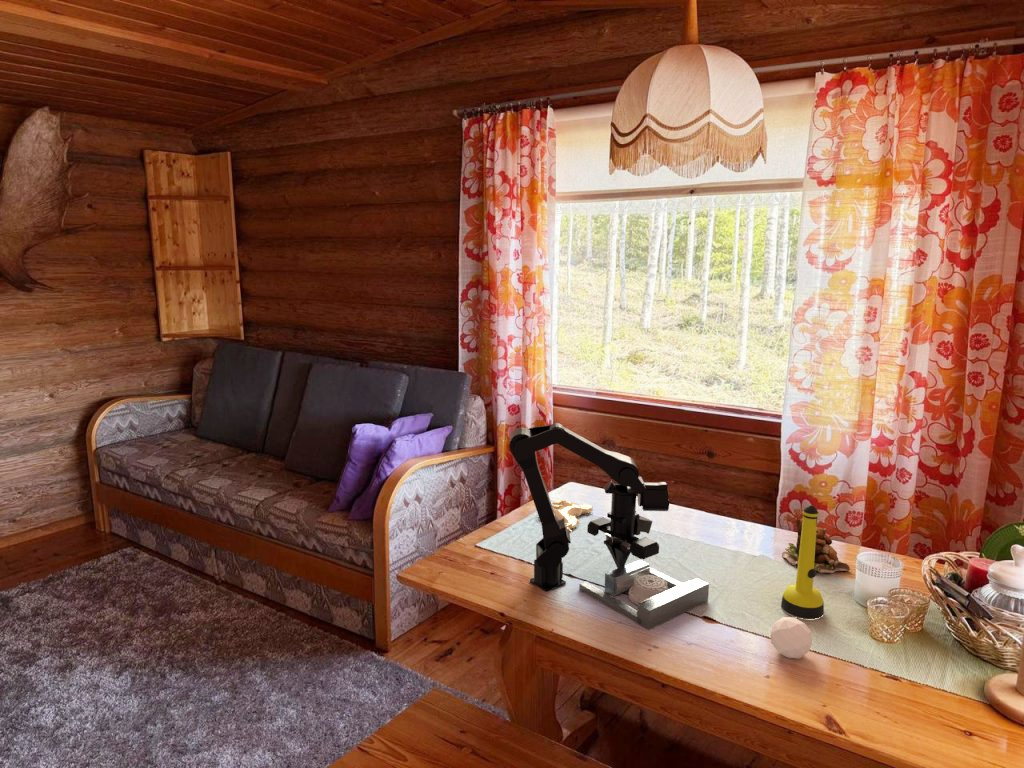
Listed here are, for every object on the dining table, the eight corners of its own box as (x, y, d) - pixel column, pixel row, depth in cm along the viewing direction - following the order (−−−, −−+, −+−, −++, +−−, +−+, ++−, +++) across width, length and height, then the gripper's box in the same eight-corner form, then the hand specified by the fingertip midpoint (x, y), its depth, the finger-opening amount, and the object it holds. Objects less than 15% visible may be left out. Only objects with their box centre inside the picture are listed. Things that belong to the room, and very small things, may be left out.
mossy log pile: (816, 580, 167) (821, 534, 164) (772, 555, 180) (776, 512, 178) (857, 570, 172) (862, 525, 169) (812, 547, 185) (815, 505, 183)
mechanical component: (676, 610, 153) (667, 588, 162) (676, 592, 152) (668, 571, 162) (631, 609, 153) (626, 587, 163) (632, 591, 152) (626, 570, 162)
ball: (777, 662, 138) (762, 622, 141) (817, 652, 136) (800, 612, 139) (780, 664, 131) (764, 622, 134) (822, 653, 129) (805, 611, 133)
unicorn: (571, 491, 217) (613, 509, 205) (570, 502, 218) (612, 521, 206) (526, 506, 204) (568, 526, 192) (525, 518, 205) (567, 539, 193)
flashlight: (780, 501, 150) (812, 515, 142) (810, 495, 154) (843, 509, 145) (772, 604, 155) (802, 624, 147) (801, 596, 158) (832, 615, 150)
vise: (648, 629, 145) (649, 610, 144) (579, 589, 162) (579, 572, 161) (707, 601, 156) (709, 583, 155) (637, 566, 174) (638, 550, 173)
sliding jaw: (615, 597, 158) (615, 579, 157) (604, 591, 161) (605, 573, 160) (650, 582, 165) (651, 565, 164) (639, 576, 168) (640, 559, 167)
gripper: (676, 514, 158) (672, 575, 162) (618, 490, 173) (616, 547, 176) (644, 525, 152) (640, 589, 155) (586, 500, 166) (584, 558, 170)
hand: (620, 569), depth 164 cm, fingers closed
